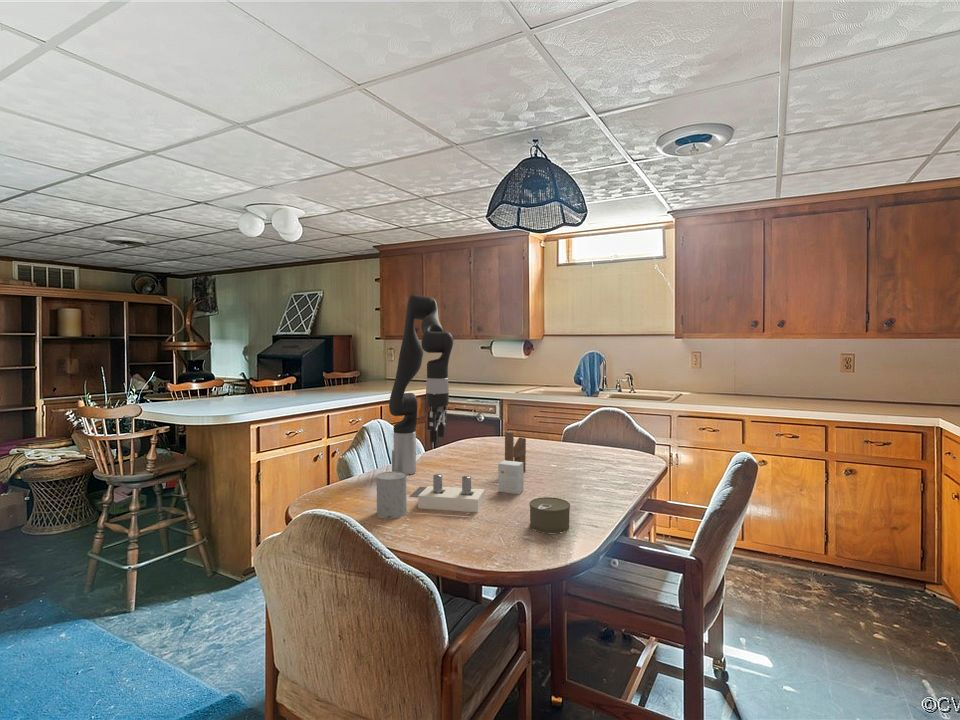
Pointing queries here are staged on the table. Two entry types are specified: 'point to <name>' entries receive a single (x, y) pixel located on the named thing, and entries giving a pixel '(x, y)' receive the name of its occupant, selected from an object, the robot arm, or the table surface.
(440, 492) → the steel pin
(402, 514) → the grey concrete cylinder
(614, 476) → the table surface
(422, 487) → the mat
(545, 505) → the can
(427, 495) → the bore block
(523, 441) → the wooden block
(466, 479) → the seated pin
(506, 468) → the small box
